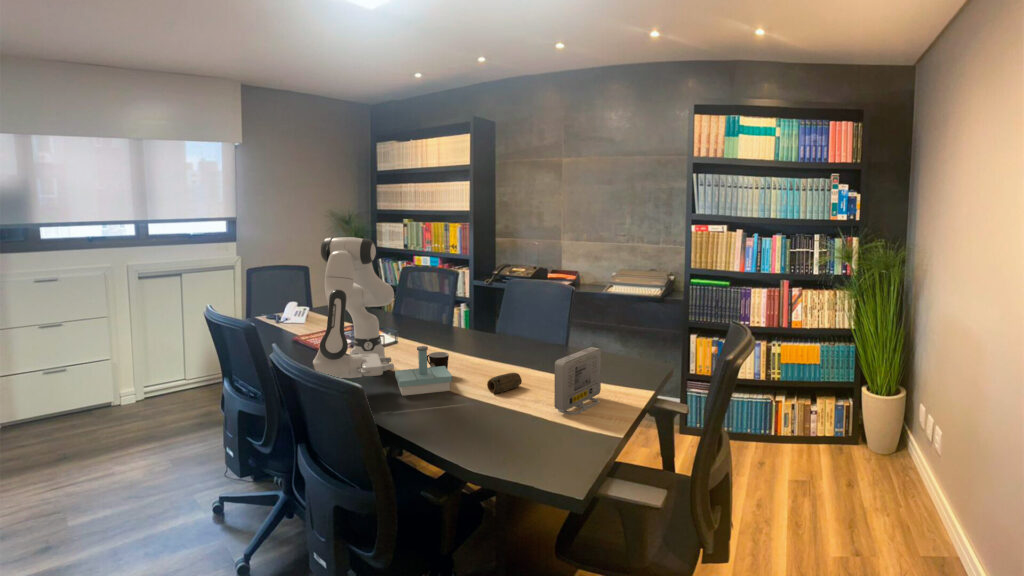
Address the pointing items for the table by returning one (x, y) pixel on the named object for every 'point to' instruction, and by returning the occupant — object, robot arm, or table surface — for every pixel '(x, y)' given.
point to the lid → (423, 372)
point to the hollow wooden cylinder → (504, 382)
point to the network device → (577, 380)
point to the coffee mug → (438, 359)
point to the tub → (425, 388)
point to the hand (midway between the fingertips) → (392, 362)
